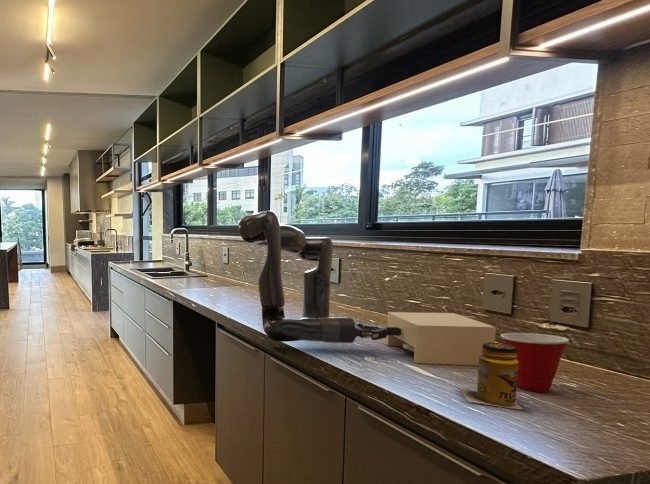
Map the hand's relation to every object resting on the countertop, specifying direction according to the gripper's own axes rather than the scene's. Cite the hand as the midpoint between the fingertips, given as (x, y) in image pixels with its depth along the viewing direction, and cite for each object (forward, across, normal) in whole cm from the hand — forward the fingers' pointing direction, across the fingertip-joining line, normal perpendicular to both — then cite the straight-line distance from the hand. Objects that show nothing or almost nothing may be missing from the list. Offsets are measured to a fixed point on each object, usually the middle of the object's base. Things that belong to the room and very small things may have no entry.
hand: (399, 331), depth 119 cm
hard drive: (+8, 0, +7) cm, 11 cm away
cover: (+9, 0, +6) cm, 11 cm away
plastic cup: (+16, -24, +7) cm, 30 cm away
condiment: (+4, -33, +7) cm, 34 cm away
